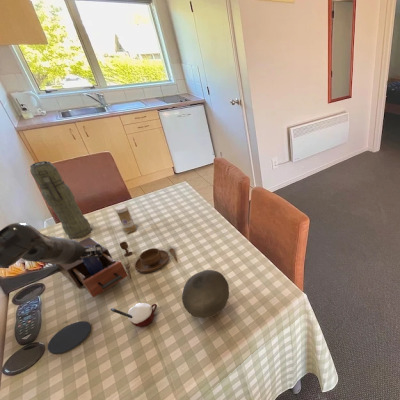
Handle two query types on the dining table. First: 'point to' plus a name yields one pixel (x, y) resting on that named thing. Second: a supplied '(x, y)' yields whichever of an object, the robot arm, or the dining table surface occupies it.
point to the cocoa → (139, 314)
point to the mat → (69, 337)
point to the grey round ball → (205, 294)
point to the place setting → (148, 259)
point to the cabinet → (79, 262)
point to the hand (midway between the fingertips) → (92, 255)
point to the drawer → (101, 275)
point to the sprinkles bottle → (125, 218)
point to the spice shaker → (93, 264)
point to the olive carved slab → (60, 199)
